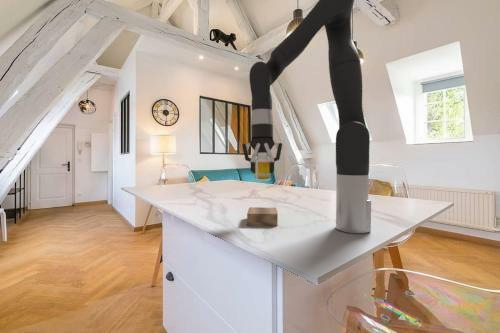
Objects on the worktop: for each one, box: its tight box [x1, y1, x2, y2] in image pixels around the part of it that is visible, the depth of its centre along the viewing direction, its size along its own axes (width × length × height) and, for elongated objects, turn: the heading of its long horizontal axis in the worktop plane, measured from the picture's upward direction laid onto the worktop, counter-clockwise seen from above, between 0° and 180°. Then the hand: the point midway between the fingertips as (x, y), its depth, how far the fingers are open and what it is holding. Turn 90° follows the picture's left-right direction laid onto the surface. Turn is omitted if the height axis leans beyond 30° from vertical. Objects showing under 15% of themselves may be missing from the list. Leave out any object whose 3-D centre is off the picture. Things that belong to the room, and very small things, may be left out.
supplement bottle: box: [254, 153, 271, 182], centre depth 81 cm, size 5×5×10 cm
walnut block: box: [246, 206, 279, 227], centre depth 82 cm, size 10×10×4 cm
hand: (262, 173), depth 81 cm, fingers closed on supplement bottle, 5 cm apart
